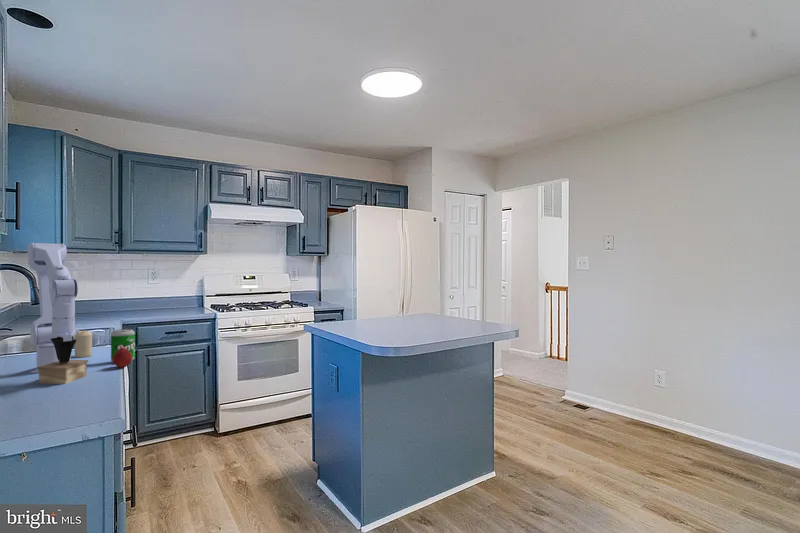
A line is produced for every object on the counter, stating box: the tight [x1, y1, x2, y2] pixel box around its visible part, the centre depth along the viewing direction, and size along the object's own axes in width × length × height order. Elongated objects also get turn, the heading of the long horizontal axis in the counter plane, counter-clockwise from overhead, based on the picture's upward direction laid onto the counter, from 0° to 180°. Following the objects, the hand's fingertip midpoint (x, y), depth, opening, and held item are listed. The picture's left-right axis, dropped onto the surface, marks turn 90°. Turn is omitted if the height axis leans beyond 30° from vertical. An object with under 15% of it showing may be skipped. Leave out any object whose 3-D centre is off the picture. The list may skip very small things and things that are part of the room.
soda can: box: [110, 328, 136, 363], centre depth 162 cm, size 8×8×12 cm
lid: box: [36, 359, 89, 370], centre depth 136 cm, size 10×9×5 cm
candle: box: [74, 330, 93, 358], centre depth 171 cm, size 6×6×10 cm
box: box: [38, 363, 87, 385], centre depth 136 cm, size 9×8×5 cm
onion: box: [112, 346, 133, 369], centre depth 152 cm, size 6×6×8 cm
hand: (63, 361), depth 136 cm, fingers open, 3 cm apart
